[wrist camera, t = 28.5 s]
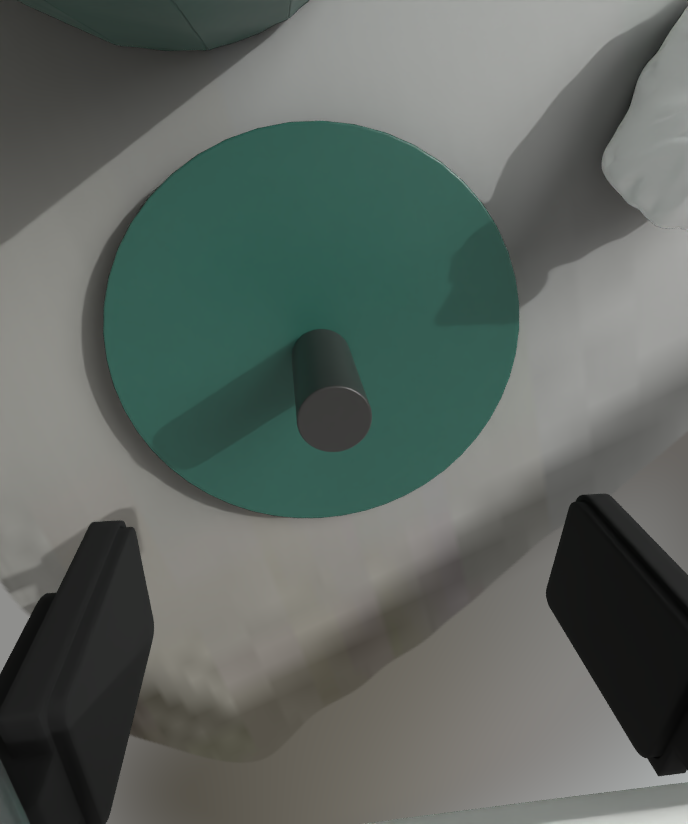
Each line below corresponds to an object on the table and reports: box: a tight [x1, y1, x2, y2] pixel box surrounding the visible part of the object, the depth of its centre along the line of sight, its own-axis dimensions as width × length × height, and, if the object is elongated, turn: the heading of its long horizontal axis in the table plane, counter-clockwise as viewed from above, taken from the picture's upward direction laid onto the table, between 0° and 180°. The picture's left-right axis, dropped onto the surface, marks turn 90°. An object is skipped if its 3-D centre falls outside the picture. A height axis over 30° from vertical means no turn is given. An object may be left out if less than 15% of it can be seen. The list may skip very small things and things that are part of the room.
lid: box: [103, 121, 519, 518], centre depth 19 cm, size 17×17×7 cm
